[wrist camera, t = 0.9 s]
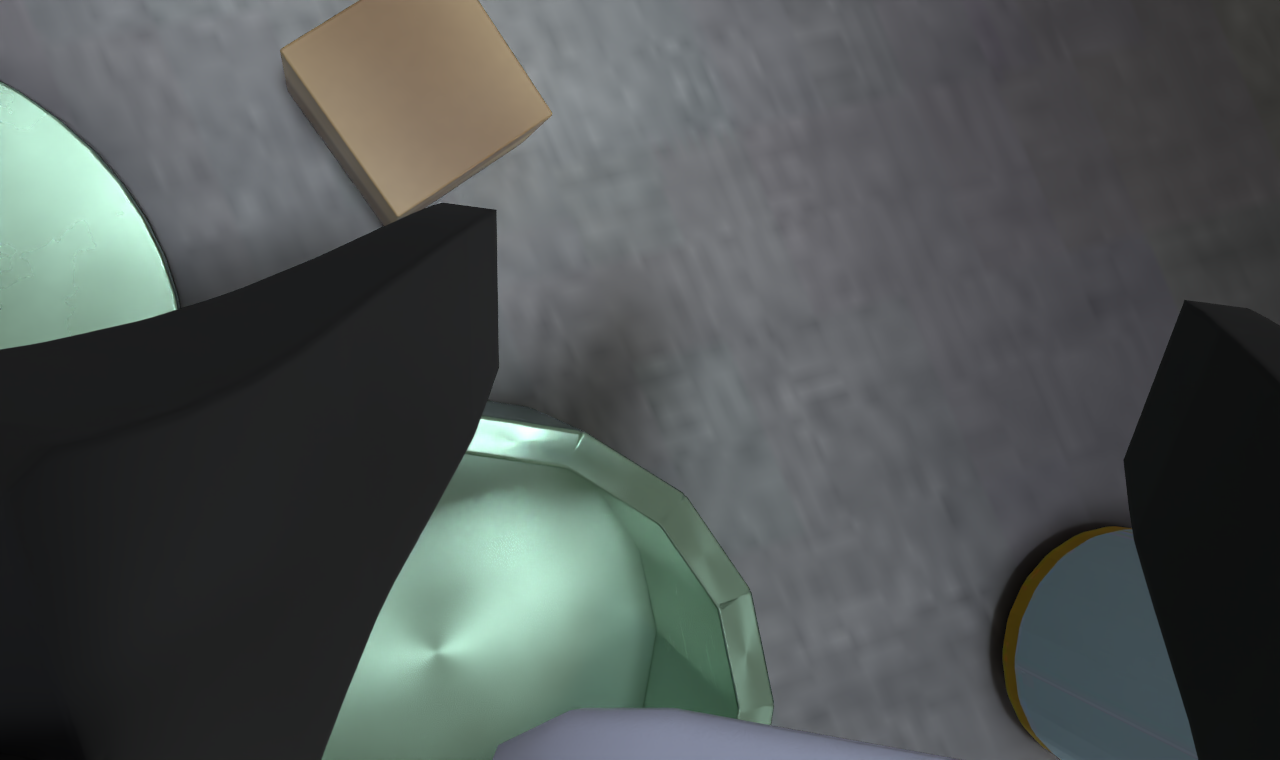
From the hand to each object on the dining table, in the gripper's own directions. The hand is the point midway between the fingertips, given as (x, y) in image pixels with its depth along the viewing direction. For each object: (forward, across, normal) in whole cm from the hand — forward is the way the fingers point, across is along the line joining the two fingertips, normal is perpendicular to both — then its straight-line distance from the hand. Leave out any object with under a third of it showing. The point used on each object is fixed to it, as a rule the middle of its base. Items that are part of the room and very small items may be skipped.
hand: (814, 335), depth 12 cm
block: (+14, +10, +4) cm, 18 cm away
